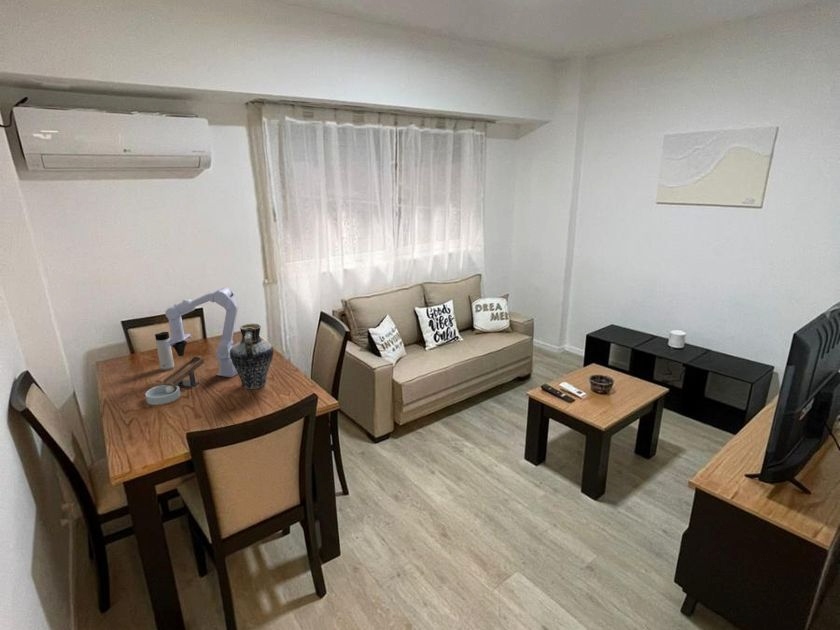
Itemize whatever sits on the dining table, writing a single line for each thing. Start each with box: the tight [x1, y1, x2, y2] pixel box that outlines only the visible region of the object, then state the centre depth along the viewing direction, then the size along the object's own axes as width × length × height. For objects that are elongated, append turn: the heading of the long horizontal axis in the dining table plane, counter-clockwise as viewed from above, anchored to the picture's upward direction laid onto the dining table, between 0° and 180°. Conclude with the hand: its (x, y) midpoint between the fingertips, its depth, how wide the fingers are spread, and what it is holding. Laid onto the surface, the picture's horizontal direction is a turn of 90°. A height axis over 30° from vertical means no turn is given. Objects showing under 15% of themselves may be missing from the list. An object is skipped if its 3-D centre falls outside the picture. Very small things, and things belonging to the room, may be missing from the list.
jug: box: [230, 323, 274, 390], centre depth 212 cm, size 21×19×30 cm
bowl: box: [144, 384, 182, 406], centre depth 203 cm, size 13×13×4 cm
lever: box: [154, 355, 205, 386], centre depth 215 cm, size 12×20×4 cm, turn 164°
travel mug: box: [154, 331, 175, 372], centre depth 232 cm, size 6×7×20 cm
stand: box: [177, 371, 200, 389], centre depth 216 cm, size 10×5×7 cm, turn 74°
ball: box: [166, 385, 174, 393], centre depth 207 cm, size 4×4×4 cm
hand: (181, 355), depth 225 cm, fingers closed
